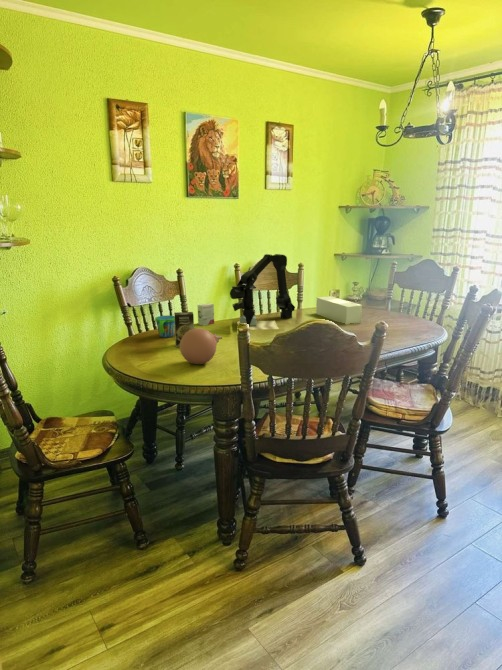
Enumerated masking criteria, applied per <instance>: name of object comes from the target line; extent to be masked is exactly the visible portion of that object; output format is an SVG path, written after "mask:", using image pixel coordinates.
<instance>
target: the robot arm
mask: <svg viewBox="0 0 502 670" xmlns="http://www.w3.org/2000/svg"><path fill="white" fill-rule="evenodd" d="M271 262H272V266H273V267H274V269H275V270H276V279H277V280H276V281H277V288H278V296H276V297H275V299H276V301H275V302H276V303H275V304H276V305H277V306H278V309H279V310H280V312H279V314H280V315H279V318H280V319H285V320H289V319H293V312H294V311H295V309H296V306H295V305H294V303H292V299H291V296H290V294H289V293H288V286H287V276H286V267H288V266H287V265H288V257H287V256H286V255H285V254H280V253H275V254H273V255H272V254H268V253H266V254H264V255H263V257H262V258H261V259H260V260H259V261H258V262H257V263H256V264H255V265H254V266H253V267H252V268H251V269H250V270H248V271H246V272H244V273H243V274H242V275H241V276H240V279H239V281H238V283H237V284H236V286H233V285H232V287H231V289H230V291H229V296H230V298H231V299H232V300H238V299H241V301H238V302H235V303H233V304H232V306H231V307H232V308H233V311H234V312H237V311H238V310H241V311H242V312H241V313H242V316H245V317H246V322H247V324H249V325H250V323H251V320H252V318H253V316H256V315H255V312H256V311H255V310H254V290H255V289H257V286H255V285H254V284H255V282H256V281H257V279H258V276H259V275H260V274H261V273H262V272H263V271H264V270H265V269H266V267H268V265H269V264H271Z"/></svg>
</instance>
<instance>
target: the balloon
mask: <svg viewBox="0 0 502 670" xmlns="http://www.w3.org/2000/svg"><path fill="white" fill-rule="evenodd" d="M222 339H223V336H220V335H217V334H216V333H214V334H212V333H211V332H210V331H208V329H204V328H201V327H197V328H195V327H194V329H191V330H189V331H188V332H186V333H185V334H184V336H183V337H182V339H181V342H180V347H179V349H180V354H181V356H182V357H183V358H184V360H186V361H187V362H189V363H190V364H193V365H204V364H206V363H208V362H210V361H211V360H212V359H213V357H214V356H215V354H216V352H217V345H218V343H220V340H222Z"/></svg>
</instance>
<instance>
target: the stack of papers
mask: <svg viewBox="0 0 502 670" xmlns="http://www.w3.org/2000/svg"><path fill="white" fill-rule="evenodd" d="M315 301H316V302H315V303H316V306H315V308H316V310H315V315H319V316H322V317H324V318H327V319H329V320H331V321H335V322H337V323H340V322H342V323H341V324H343V323H345V324H344V325H351V324H350V323H354V324H360V323H359V322H361V323H362V313H363V312H362V310H363V305H362V304H360V303H356V302H353V301H350V300H349V301H348V300H347V299H346V300H345V299H343V298H338V297H335V296H331V295H329V296H319V297H316V300H315Z"/></svg>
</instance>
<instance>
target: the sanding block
mask: <svg viewBox="0 0 502 670" xmlns="http://www.w3.org/2000/svg"><path fill="white" fill-rule="evenodd" d="M239 321H240V323H247V322H246V317H245V316H243V315H242V316H241V315H240V316H239ZM256 321H258V320H257V316H256V315H254V316H253V318H252V320H251V323H250V325H249V326H256Z"/></svg>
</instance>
